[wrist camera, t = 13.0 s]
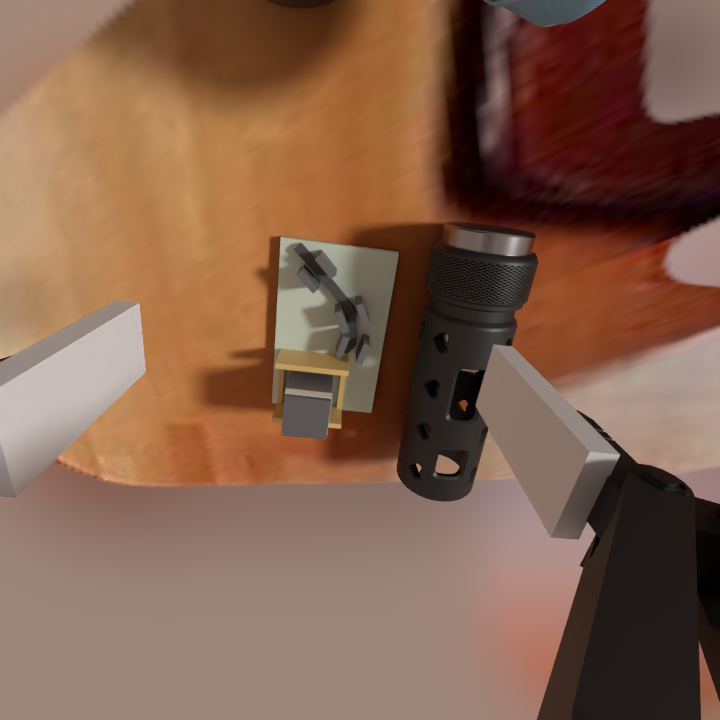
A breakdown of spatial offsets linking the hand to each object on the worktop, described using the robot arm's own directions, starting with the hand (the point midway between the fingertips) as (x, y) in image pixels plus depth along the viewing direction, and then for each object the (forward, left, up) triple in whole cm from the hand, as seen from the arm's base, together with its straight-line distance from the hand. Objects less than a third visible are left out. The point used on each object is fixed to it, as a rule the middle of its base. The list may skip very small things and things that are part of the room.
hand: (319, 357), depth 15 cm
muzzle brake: (+10, +14, -29) cm, 34 cm away
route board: (+10, 0, -29) cm, 30 cm away
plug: (+16, -1, -28) cm, 32 cm away
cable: (+6, 0, -28) cm, 28 cm away
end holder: (+16, -1, -29) cm, 33 cm away
